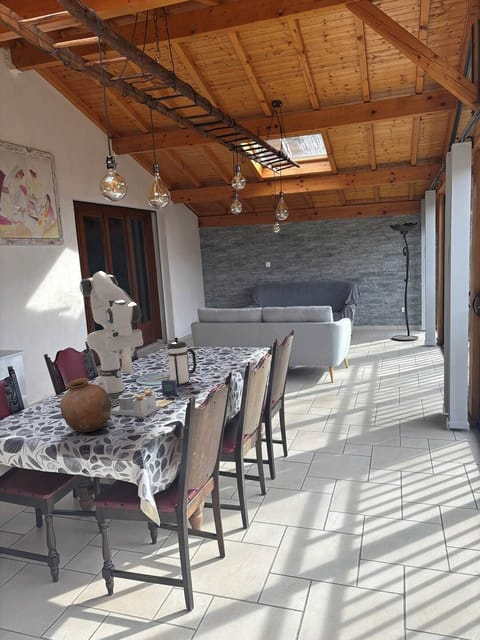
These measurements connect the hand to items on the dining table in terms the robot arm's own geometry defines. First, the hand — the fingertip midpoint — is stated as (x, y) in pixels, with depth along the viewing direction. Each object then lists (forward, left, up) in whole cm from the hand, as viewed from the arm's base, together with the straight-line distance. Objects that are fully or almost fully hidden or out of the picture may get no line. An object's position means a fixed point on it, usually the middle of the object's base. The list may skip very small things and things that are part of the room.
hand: (126, 357), depth 251 cm
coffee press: (-1, +52, -29) cm, 60 cm away
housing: (+3, -1, -29) cm, 29 cm away
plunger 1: (+10, -5, -26) cm, 28 cm away
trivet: (+10, +12, -29) cm, 33 cm away
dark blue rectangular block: (+5, +29, -29) cm, 42 cm away
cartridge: (0, -1, -8) cm, 8 cm away
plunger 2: (+10, +3, -26) cm, 28 cm away
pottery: (-3, -30, -29) cm, 42 cm away
